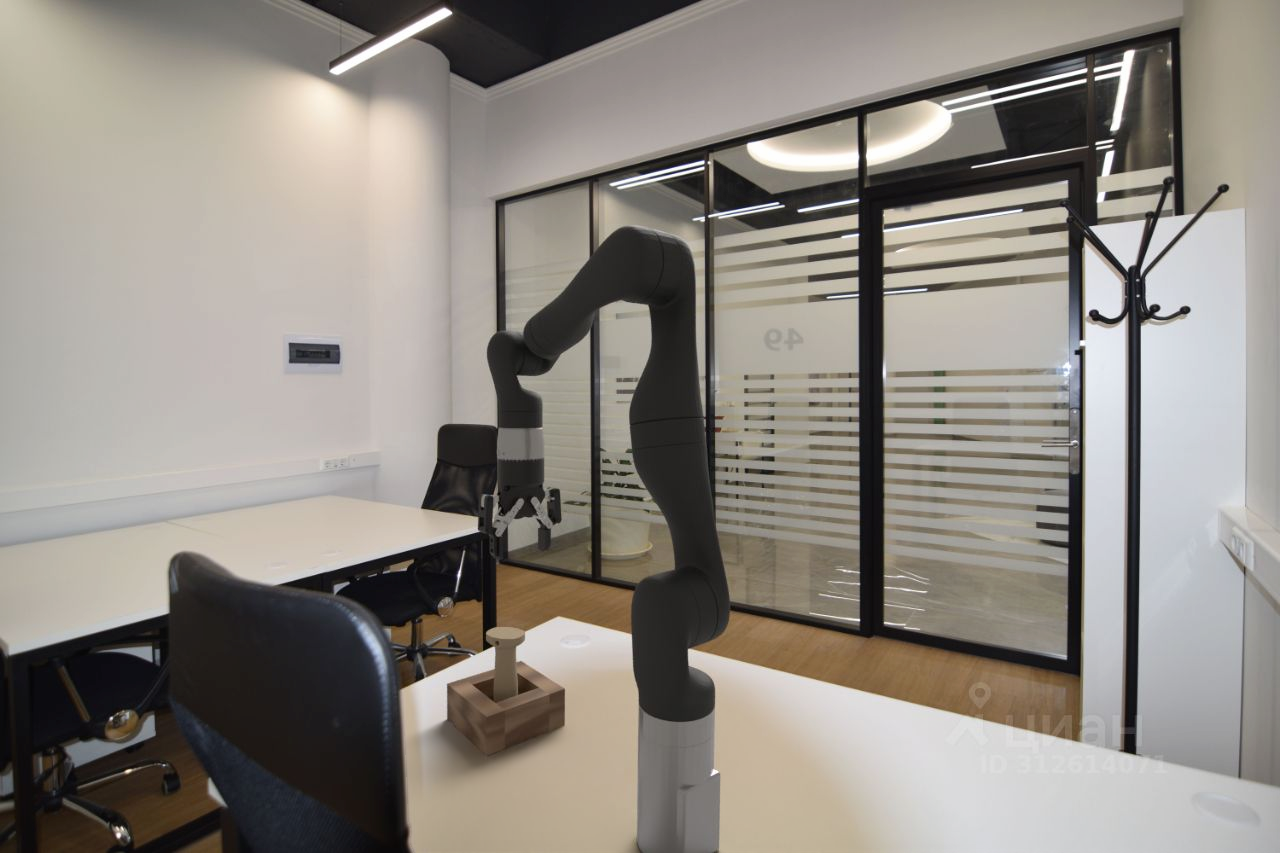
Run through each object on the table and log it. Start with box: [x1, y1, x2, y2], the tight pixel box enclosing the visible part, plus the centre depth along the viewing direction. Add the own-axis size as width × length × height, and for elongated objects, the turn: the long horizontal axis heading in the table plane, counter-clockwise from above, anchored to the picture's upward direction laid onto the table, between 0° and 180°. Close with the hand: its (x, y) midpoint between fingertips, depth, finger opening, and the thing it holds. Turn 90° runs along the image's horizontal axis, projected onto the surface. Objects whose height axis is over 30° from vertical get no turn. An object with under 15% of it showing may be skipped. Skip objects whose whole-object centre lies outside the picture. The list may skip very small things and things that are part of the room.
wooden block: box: [446, 660, 566, 757], centre depth 103 cm, size 14×14×6 cm
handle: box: [485, 626, 526, 703], centre depth 103 cm, size 5×6×15 cm
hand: (521, 554), depth 102 cm, fingers open, 8 cm apart
